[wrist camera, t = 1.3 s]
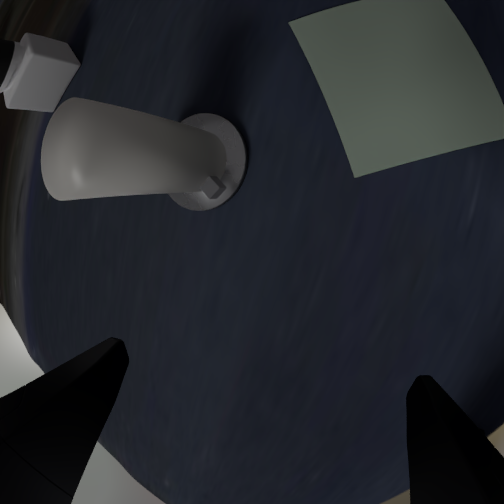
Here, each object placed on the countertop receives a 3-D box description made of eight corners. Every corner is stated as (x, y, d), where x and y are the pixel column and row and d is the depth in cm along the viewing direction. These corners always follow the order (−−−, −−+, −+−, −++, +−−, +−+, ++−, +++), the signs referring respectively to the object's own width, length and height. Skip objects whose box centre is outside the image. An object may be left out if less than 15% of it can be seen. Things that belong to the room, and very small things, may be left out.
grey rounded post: (249, 169, 19) (121, 153, 9) (206, 215, 20) (72, 240, 10) (191, 110, 19) (64, 71, 9) (156, 155, 21) (29, 147, 11)
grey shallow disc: (269, 159, 19) (265, 158, 18) (202, 230, 21) (197, 231, 21) (205, 97, 19) (201, 95, 19) (150, 165, 22) (145, 165, 22)
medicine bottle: (68, 42, 24) (-7, 25, 13) (82, 64, 24) (-6, 45, 13) (42, 86, 27) (-30, 79, 16) (53, 113, 27) (-30, 108, 16)
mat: (513, 136, 12) (514, 135, 12) (354, 177, 17) (354, 177, 17) (434, -10, 11) (435, -12, 11) (289, 24, 16) (288, 22, 16)
